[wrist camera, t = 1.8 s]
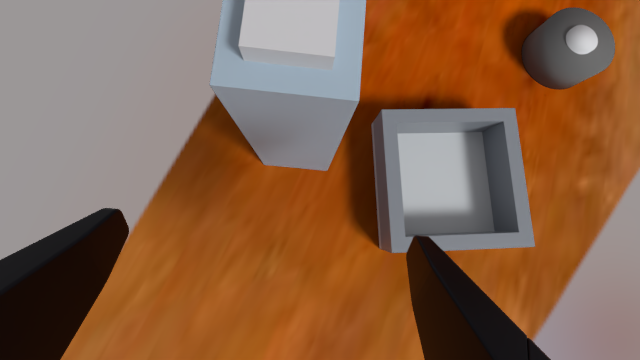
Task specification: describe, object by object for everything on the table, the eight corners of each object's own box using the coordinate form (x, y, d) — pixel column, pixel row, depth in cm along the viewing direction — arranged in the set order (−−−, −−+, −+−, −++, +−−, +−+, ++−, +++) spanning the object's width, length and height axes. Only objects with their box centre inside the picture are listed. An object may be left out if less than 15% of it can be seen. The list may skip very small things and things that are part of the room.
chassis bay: (503, 243, 22) (534, 246, 19) (379, 248, 22) (392, 252, 19) (487, 122, 24) (514, 108, 21) (371, 124, 23) (381, 109, 20)
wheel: (590, 89, 25) (625, 73, 22) (526, 89, 24) (554, 73, 22) (579, 27, 26) (611, 5, 23) (517, 27, 25) (542, 4, 23)
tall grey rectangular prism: (327, 170, 22) (364, 90, 9) (264, 164, 22) (200, 72, 8) (331, 111, 23) (373, -49, 9) (271, 105, 23) (223, -69, 9)
